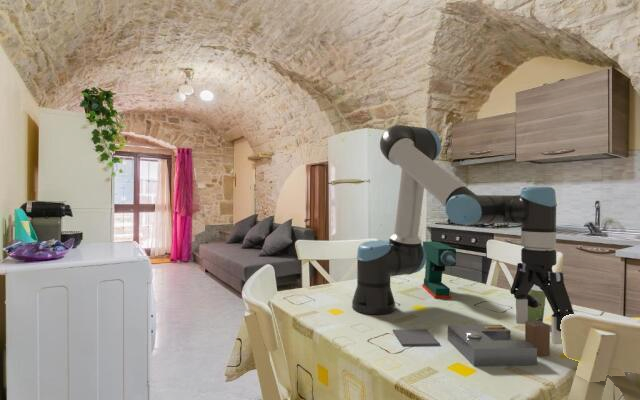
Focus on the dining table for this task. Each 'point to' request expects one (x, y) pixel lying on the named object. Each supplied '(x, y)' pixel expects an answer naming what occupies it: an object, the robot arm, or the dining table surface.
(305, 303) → the dining table surface
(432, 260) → the power tool
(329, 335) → the dining table surface
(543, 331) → the wooden block
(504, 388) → the dining table surface
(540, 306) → the beverage can
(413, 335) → the mat
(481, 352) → the peg insertion board
